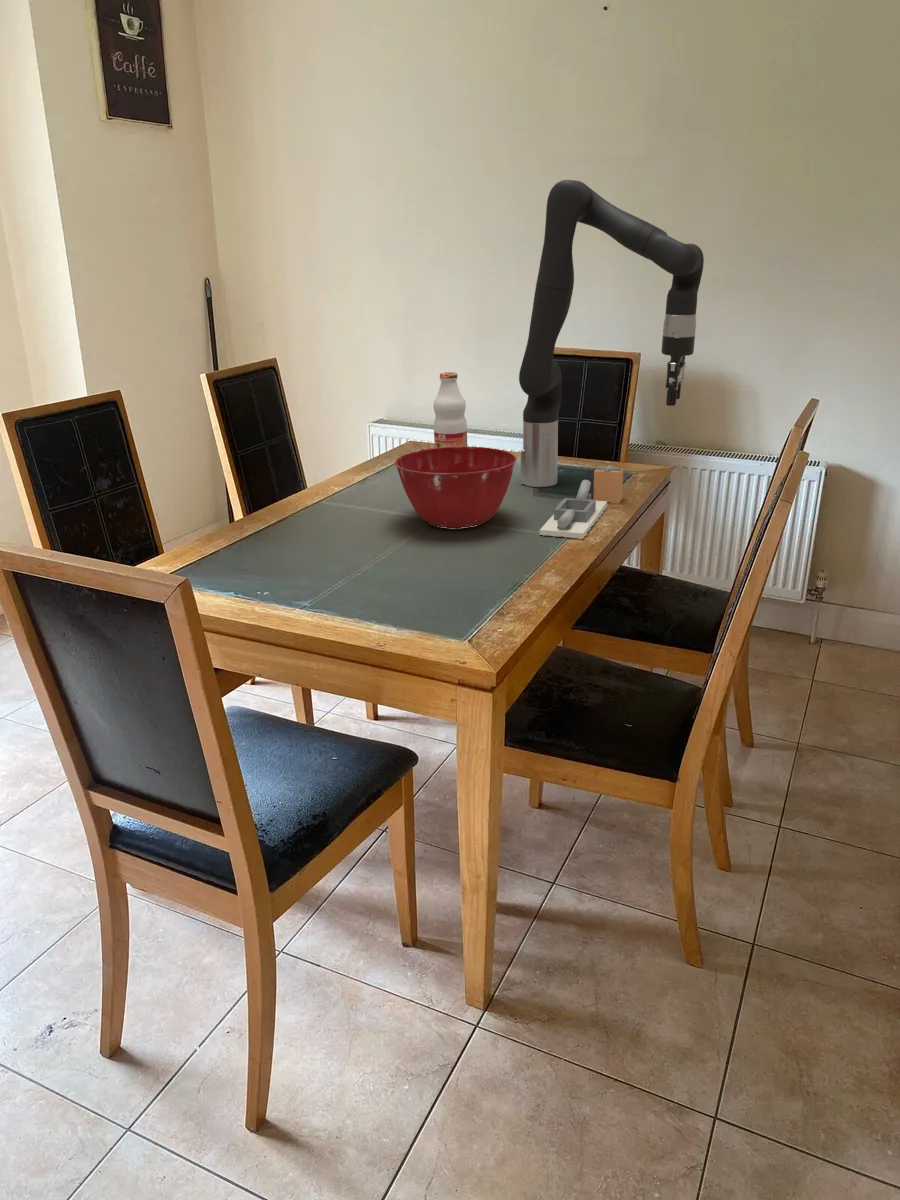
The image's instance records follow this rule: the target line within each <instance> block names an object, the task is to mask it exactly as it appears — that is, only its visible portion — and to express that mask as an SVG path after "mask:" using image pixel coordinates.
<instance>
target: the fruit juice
mask: <svg viewBox="0 0 900 1200" xmlns="http://www.w3.org/2000/svg"><path fill="white" fill-rule="evenodd" d="M457 380H458V373H457V372H454V371H453V372H451V371H450V372H449V371H446V372H441V373H439V381H440V386H439V389H438V392H437V395H436V397H435V399H434V401H433V411H434V414H435V418H434V421H433V436H434V437H433V438H434V441H433V443H434V444H435V443H436V445H437V448H440V445H441V443H442V444H443V447H447V444H448V443H449V446H450V447H453V445H454V443H455V444H456V447H459V446H460V443H461V444H462V446H463V447H468V425H467V424H468V423H467V419H466V417H465V412H466V408H467V406H466V405H467V404H466V403H467V402H466V400H465V398H464V397H463V395H462V394H461V391H460V389H459V386H458V383H457V382H458V381H457ZM434 444H433V445H434Z"/></svg>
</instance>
